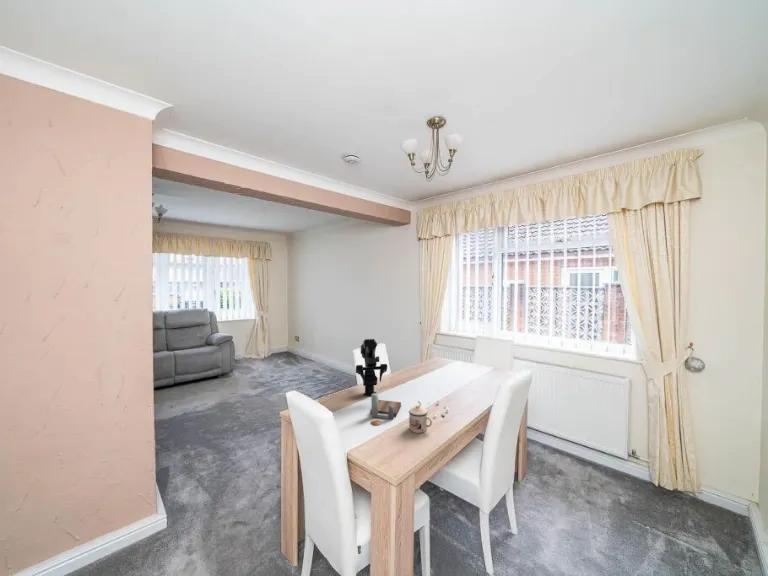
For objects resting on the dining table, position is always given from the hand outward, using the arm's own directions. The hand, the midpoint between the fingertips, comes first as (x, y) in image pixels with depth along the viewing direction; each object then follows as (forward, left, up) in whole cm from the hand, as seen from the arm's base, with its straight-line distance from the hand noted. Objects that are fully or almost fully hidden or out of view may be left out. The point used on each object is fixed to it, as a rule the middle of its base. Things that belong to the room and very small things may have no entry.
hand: (372, 382), depth 171 cm
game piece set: (-10, +33, -14) cm, 37 cm away
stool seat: (+7, +11, -14) cm, 19 cm away
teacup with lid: (+13, +35, -14) cm, 40 cm away
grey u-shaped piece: (+11, +12, -13) cm, 21 cm away
